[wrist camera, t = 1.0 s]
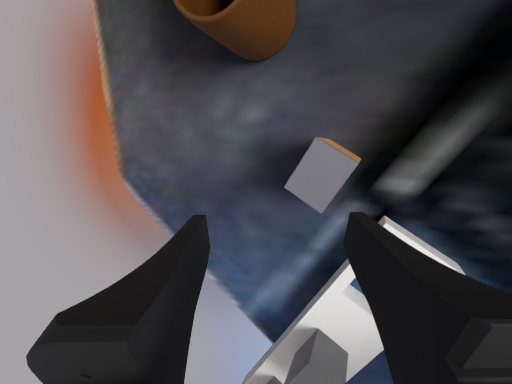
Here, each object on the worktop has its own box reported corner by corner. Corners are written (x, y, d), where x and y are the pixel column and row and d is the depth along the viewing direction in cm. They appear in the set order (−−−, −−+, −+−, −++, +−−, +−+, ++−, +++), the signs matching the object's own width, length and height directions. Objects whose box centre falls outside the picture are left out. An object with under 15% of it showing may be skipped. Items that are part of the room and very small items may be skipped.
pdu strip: (456, 263, 22) (493, 311, 16) (288, 416, 32) (269, 483, 26) (384, 215, 24) (390, 240, 17) (246, 375, 34) (218, 428, 27)
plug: (361, 158, 24) (358, 163, 17) (333, 196, 25) (321, 213, 19) (329, 139, 24) (316, 136, 18) (304, 177, 26) (283, 187, 20)
